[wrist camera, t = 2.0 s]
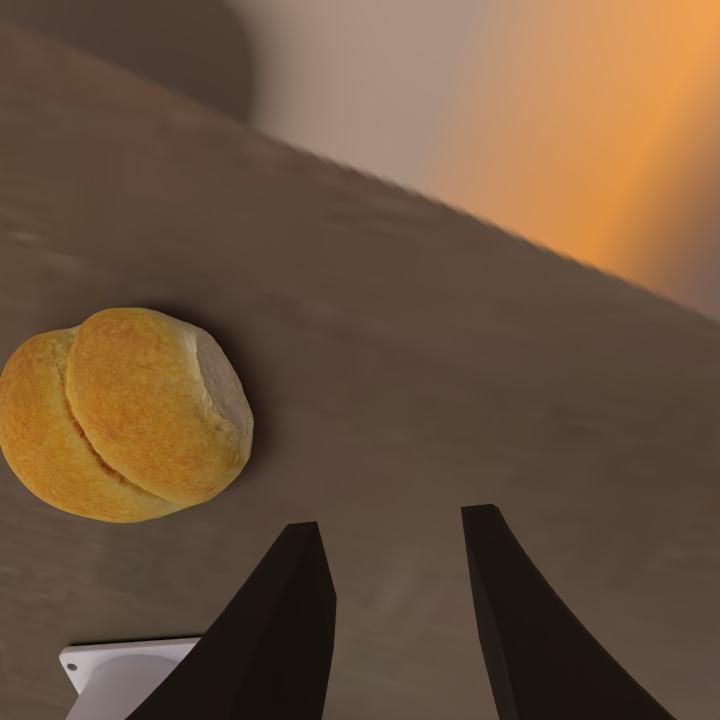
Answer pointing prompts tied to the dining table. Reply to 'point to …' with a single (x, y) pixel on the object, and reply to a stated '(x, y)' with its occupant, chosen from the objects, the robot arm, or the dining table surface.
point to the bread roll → (124, 416)
